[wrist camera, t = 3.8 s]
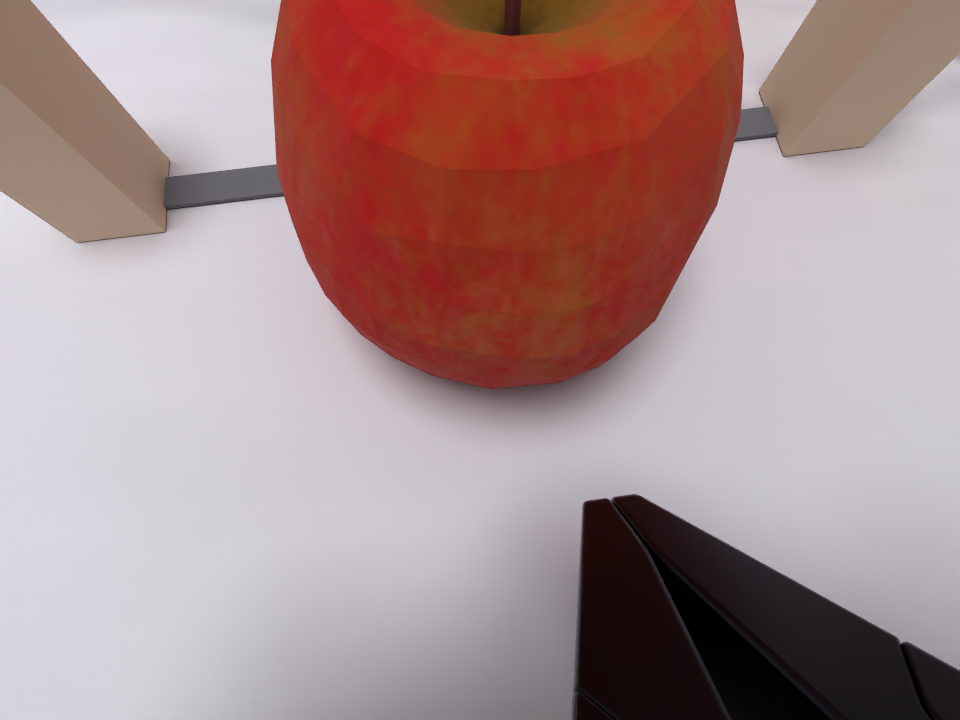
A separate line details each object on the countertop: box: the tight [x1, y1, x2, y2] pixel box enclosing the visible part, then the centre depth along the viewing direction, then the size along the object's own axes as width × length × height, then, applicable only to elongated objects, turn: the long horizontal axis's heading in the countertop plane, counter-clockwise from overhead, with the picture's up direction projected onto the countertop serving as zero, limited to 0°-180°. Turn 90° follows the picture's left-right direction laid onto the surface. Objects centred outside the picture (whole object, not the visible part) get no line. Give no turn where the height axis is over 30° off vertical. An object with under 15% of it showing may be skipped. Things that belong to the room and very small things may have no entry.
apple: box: [271, 0, 744, 389], centre depth 12 cm, size 11×11×11 cm
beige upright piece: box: [0, 0, 960, 243], centre depth 15 cm, size 3×28×7 cm, turn 98°
